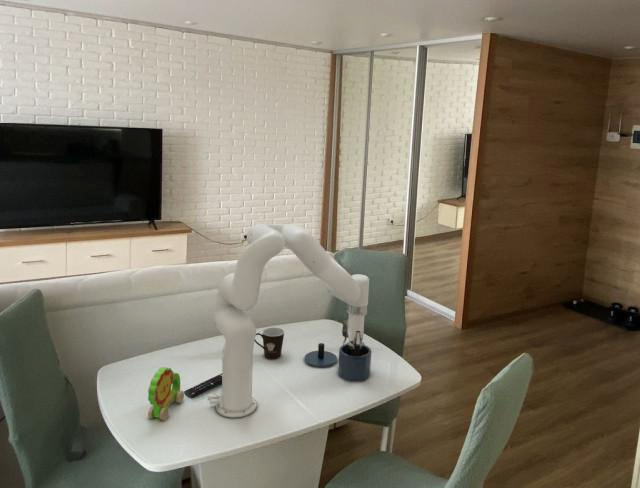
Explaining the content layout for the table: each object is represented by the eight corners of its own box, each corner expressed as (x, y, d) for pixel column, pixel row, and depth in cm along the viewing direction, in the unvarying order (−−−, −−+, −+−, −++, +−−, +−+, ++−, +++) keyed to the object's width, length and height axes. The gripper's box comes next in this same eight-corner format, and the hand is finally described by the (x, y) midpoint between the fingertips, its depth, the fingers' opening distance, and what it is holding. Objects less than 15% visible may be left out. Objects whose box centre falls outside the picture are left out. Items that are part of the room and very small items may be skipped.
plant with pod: (335, 345, 219) (338, 300, 217) (359, 341, 225) (361, 296, 223) (345, 353, 212) (347, 306, 210) (368, 348, 218) (371, 302, 216)
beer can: (361, 375, 193) (363, 344, 192) (346, 375, 193) (348, 344, 191) (360, 368, 199) (362, 338, 197) (346, 368, 198) (348, 338, 197)
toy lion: (169, 397, 173) (170, 354, 171) (185, 399, 172) (185, 356, 170) (142, 424, 158) (142, 376, 156) (159, 427, 157) (159, 379, 155)
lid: (304, 368, 198) (305, 351, 197) (304, 353, 211) (304, 337, 210) (338, 368, 200) (339, 351, 199) (335, 353, 212) (336, 337, 212)
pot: (340, 385, 187) (341, 360, 186) (336, 363, 204) (337, 340, 202) (372, 385, 188) (374, 360, 187) (366, 363, 205) (367, 340, 204)
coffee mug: (287, 355, 208) (288, 331, 207) (273, 363, 201) (274, 338, 200) (265, 347, 215) (266, 324, 213) (251, 354, 207) (251, 330, 206)
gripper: (345, 300, 201) (342, 345, 203) (349, 317, 184) (347, 365, 186) (364, 300, 201) (361, 345, 204) (370, 317, 185) (368, 365, 187)
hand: (354, 354), depth 195 cm, fingers closed on beer can, 5 cm apart
